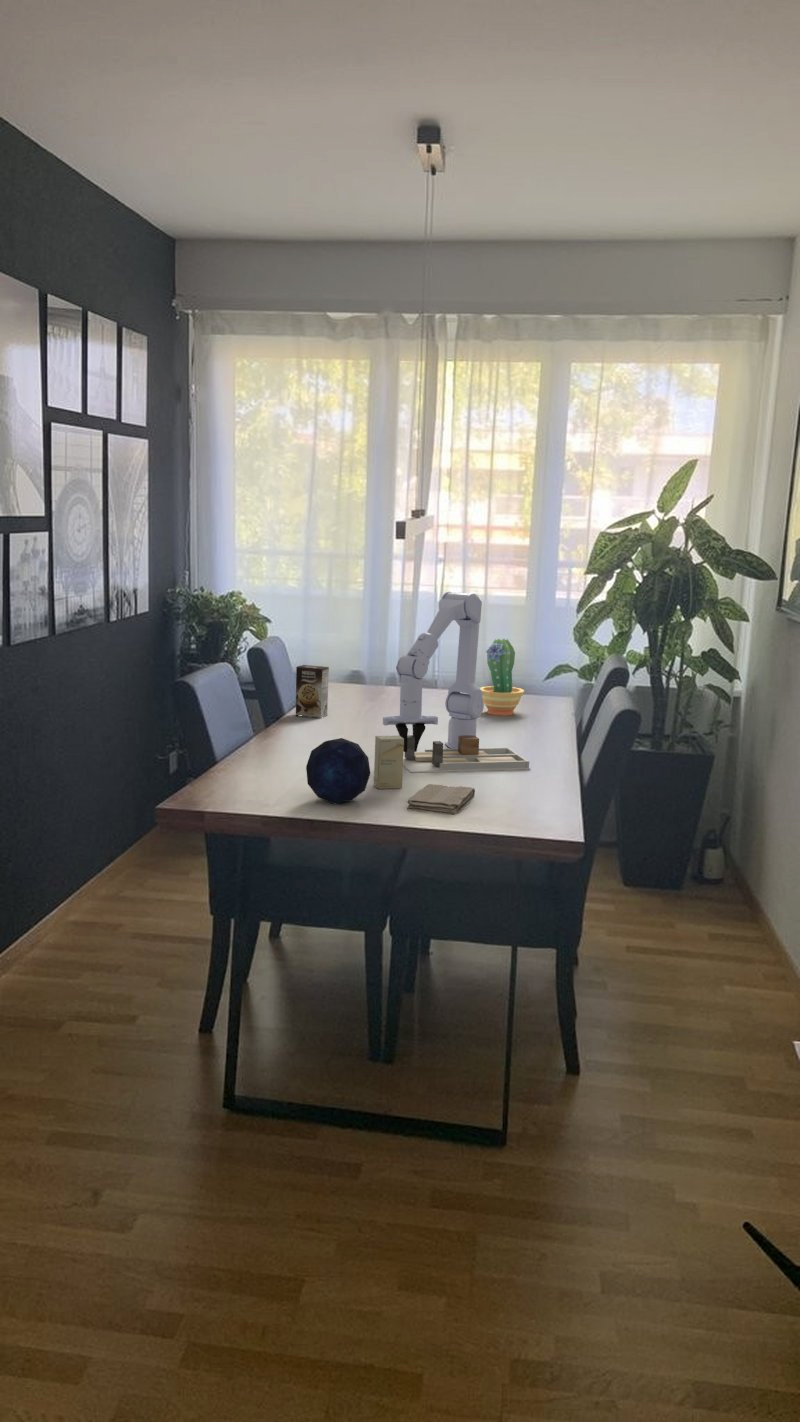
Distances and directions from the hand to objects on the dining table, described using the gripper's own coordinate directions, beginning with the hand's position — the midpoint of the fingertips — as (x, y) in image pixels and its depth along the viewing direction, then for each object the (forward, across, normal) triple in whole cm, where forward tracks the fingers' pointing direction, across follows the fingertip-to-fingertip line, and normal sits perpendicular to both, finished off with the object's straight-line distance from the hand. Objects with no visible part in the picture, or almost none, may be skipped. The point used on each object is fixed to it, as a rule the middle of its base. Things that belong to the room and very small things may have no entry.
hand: (409, 751), depth 275 cm
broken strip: (+2, +16, -8) cm, 18 cm away
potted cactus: (+3, +47, +66) cm, 81 cm away
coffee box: (+3, -17, +66) cm, 68 cm away
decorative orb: (+3, -25, -37) cm, 45 cm away
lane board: (+3, +13, -4) cm, 14 cm away
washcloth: (+3, -2, -41) cm, 41 cm away
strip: (+2, +10, 0) cm, 10 cm away
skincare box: (+3, -11, -26) cm, 28 cm away
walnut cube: (+1, +16, 0) cm, 16 cm away
